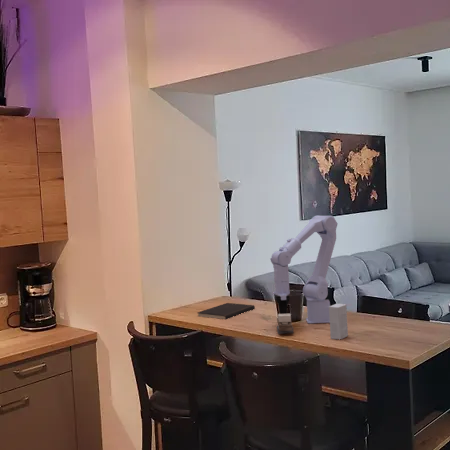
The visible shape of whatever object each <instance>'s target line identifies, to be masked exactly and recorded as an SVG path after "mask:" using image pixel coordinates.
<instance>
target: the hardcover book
mask: <svg viewBox="0 0 450 450" xmlns="http://www.w3.org/2000/svg"><path fill="white" fill-rule="evenodd" d="M255 307H256V306H255V305H254V304H243V303H233V302H232V303H230V302H226V303H223V304H219V305H217V306H214V307H211V308H208V309H204V310H201V311H199V312H197V317H202V318H208V319H209V318H210V319H211V318H212V319H219V320H228V318H229V319H230V318H231V319H232V318H234V317H237V316H239V314H240V315H242V314H241V313H243V314H245V313H248V312H251V311H253V309H254V310H255V309H256V308H255ZM250 310H251V311H250ZM247 311H248V312H247ZM244 312H245V313H244ZM236 315H237V316H236ZM233 316H234V317H233Z"/></svg>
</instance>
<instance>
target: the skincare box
mask: <svg viewBox="0 0 450 450" xmlns="http://www.w3.org/2000/svg"><path fill="white" fill-rule="evenodd" d="M347 312H348V310H347V304H345V303H335V304H332V305H330V306H329V318H330V322H329V332H330V336H329V337H330V339H331V340H338V339H339V340H340V339H341V340H343V339H345V338H346V337H349V332H348V331H349V330H348V328H349V327H348V314H347ZM339 340H338V341H339Z"/></svg>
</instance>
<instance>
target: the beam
mask: <svg viewBox="0 0 450 450" xmlns="http://www.w3.org/2000/svg"><path fill="white" fill-rule="evenodd" d="M276 321H277V322H276V323H277V326H276V332H277V334H279V335H280V334H283V335H284V334H294V326H293V322H292V321H291V322H288V324H282V322H279V320H278V317H276Z"/></svg>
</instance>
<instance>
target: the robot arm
mask: <svg viewBox="0 0 450 450" xmlns="http://www.w3.org/2000/svg"><path fill="white" fill-rule="evenodd" d="M337 227H338V222H337V220H336V218H335V217H334V216H332V215H318V214H317V215H314V216H313V217H311V219H309V220H308V222H307V225H306V226H304V228H303V229H302V230H301V231H300V232H299V233H298V234H297V235H296V237H291V238H288V239H287V240H286V242H285V244H283V246H280V247H279V248H278V249H279V250H276V251H273V253H272V254H271V257H270V258H269V259H270V262H271V264H272V266H273V277H274V291H272V293H271V294H272V295H275V300H276V303H277V304H278V305H277V306H278V309H279V314H287V312H288V307H289V306H288V305H289V302H290V299H291V298H290V294H291V291H290V276H289V274H290V272H289V264H291V262H292V258H293V257H294V256H295V255H296V254H297V253H298V252H299V251H300V250H301V249H302V244H303V243H304V242H305V241H307V239H309V238H310V237H311V236H312V235H314V233H317V234H318V235H319V236H320V238H321V242H320V246H319V250H318V253H317V256H316V261H315V264H314V267H313V272H312V275H311V276H309V277H308V278H307V279H306V280H307V281H306V283H305V284H304V286H303V288H302V294H303V296H304V297H305V299H306V311H307V312H306V313H307V317H306V318H305V320H306V322H307V324H323V323H326V324H327V323H329V324H330V318H329V306H331V302H330V299H326V298H327V297H328V295H329V293H328V291H329V289H328V286H329V283H328V281H327V279H326V278H327V274H328V270H329V266H330V262H331V259H332V256H333V252H334V248H335V246H336V245H335V244H336V241H337Z"/></svg>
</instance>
